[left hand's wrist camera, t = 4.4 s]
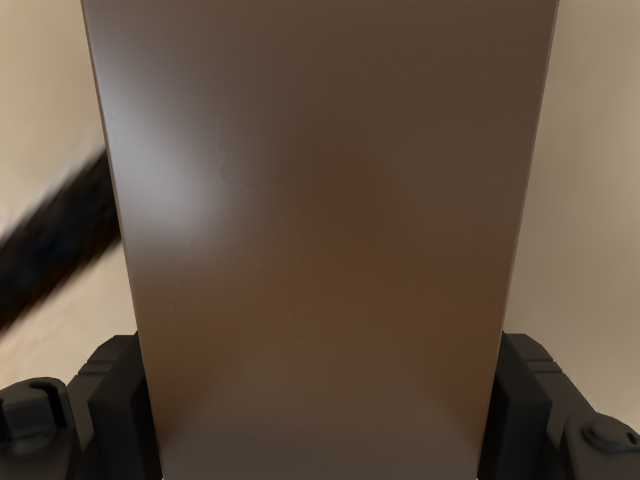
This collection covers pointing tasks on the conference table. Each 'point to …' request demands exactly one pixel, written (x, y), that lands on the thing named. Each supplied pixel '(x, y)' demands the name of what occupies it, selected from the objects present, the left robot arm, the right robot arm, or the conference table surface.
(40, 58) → the conference table surface
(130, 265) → the beam
